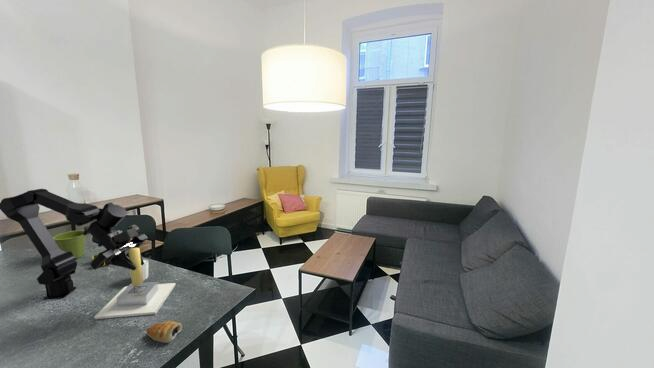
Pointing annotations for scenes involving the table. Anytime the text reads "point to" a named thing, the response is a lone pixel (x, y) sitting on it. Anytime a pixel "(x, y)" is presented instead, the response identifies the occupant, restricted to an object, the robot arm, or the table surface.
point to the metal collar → (137, 294)
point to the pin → (136, 260)
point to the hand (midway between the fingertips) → (139, 266)
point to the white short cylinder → (144, 269)
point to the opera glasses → (104, 261)
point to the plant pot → (71, 242)
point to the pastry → (164, 331)
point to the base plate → (151, 308)
